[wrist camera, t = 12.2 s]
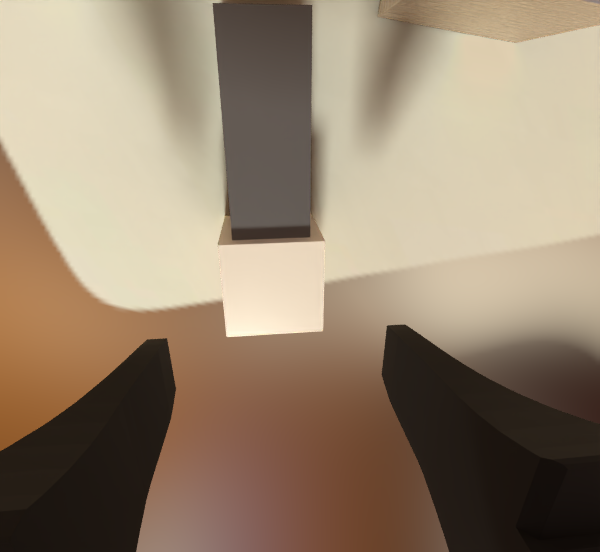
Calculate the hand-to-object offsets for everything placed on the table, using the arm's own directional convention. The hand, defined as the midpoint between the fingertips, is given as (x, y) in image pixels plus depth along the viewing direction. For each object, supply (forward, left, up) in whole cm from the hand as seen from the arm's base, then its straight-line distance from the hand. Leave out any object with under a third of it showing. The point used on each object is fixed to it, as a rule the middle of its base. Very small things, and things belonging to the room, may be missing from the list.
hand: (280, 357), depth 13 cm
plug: (+1, -5, -7) cm, 9 cm away
